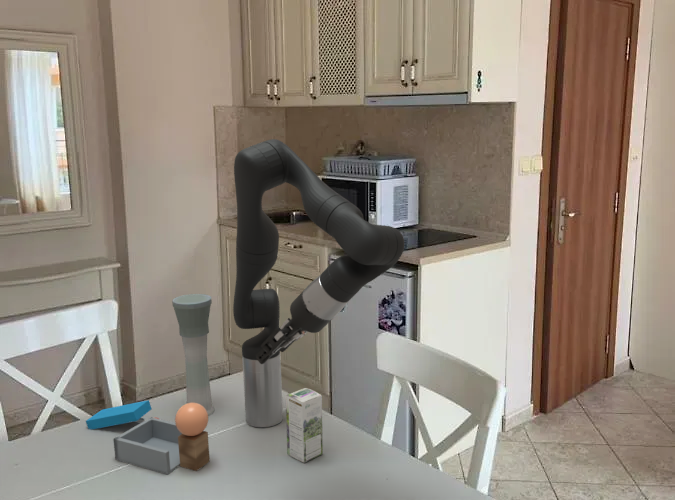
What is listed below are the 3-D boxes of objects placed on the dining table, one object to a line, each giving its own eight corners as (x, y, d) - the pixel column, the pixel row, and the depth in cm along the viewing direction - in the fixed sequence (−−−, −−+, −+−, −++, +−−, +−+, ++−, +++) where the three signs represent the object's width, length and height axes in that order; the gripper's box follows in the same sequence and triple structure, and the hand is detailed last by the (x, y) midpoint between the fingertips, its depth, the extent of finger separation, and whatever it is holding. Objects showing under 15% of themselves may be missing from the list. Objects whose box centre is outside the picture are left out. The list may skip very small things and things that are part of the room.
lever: (94, 447, 167) (155, 436, 161) (85, 421, 166) (146, 409, 160) (111, 434, 173) (170, 423, 167) (102, 409, 172) (161, 397, 166)
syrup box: (306, 445, 155) (304, 386, 152) (323, 454, 151) (322, 393, 148) (287, 455, 151) (284, 394, 148) (304, 464, 147) (302, 401, 144)
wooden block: (209, 461, 149) (207, 431, 148) (196, 471, 145) (194, 440, 144) (193, 457, 151) (191, 427, 150) (180, 466, 147) (177, 436, 146)
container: (214, 419, 169) (207, 303, 163) (176, 420, 169) (167, 304, 163) (221, 403, 179) (214, 293, 173) (185, 404, 179) (177, 294, 173)
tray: (203, 449, 154) (201, 429, 153) (167, 474, 144) (165, 452, 143) (153, 436, 161) (151, 417, 160) (115, 459, 151) (113, 438, 150)
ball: (186, 425, 151) (184, 395, 149) (215, 429, 149) (213, 399, 147) (170, 439, 144) (167, 409, 143) (199, 443, 142) (197, 412, 141)
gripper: (325, 278, 132) (277, 328, 140) (286, 296, 120) (235, 351, 127) (350, 307, 131) (300, 357, 138) (313, 329, 118) (260, 382, 126)
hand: (269, 354), depth 133 cm, fingers open, 6 cm apart
